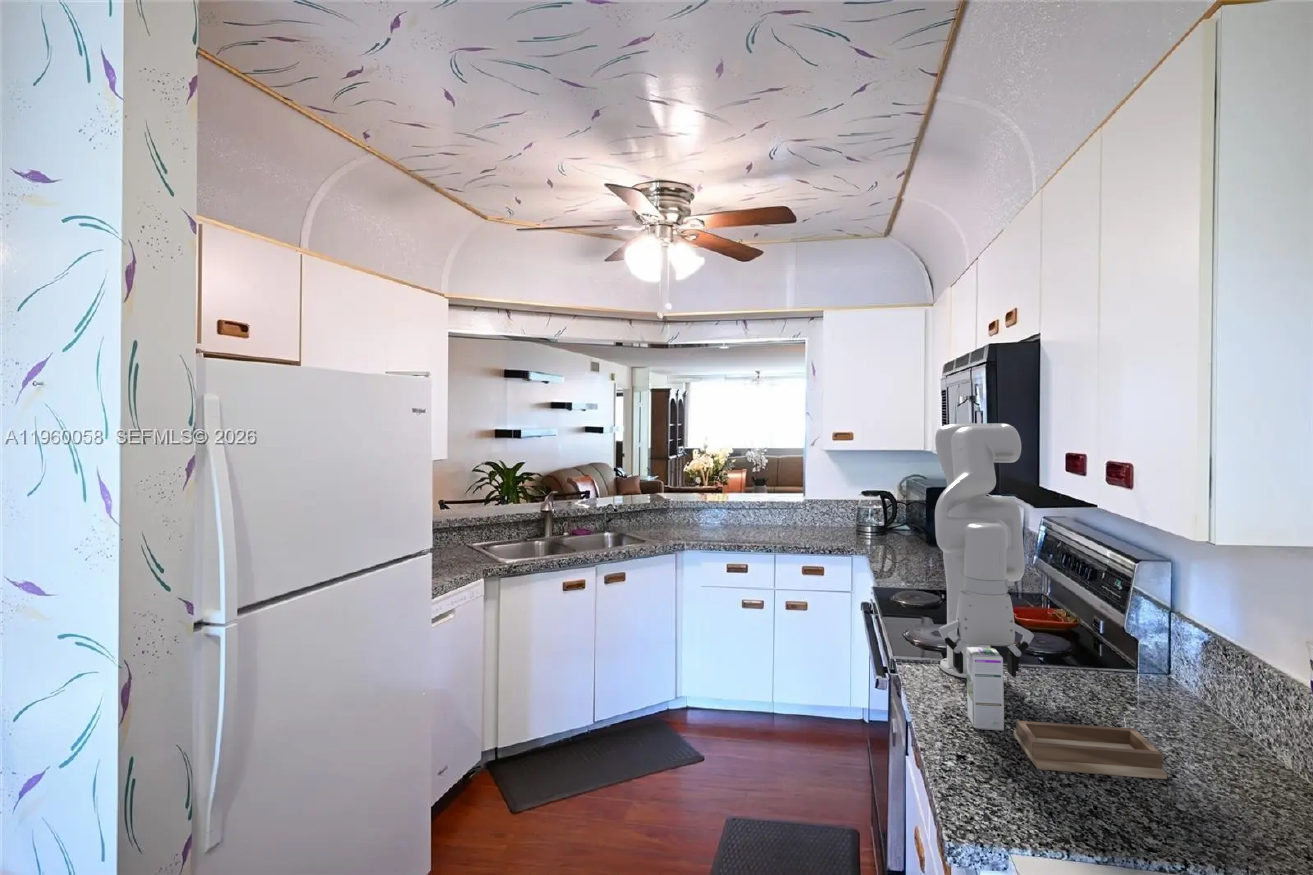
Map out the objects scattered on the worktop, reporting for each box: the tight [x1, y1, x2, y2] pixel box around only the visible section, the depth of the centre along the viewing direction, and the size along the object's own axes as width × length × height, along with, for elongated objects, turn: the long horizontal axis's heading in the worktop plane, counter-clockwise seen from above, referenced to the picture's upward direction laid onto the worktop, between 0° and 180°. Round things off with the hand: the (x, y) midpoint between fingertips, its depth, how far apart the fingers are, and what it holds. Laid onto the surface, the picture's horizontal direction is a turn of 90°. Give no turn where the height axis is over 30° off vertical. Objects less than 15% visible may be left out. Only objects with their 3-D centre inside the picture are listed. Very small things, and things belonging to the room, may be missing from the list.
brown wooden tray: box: [1013, 720, 1168, 780], centre depth 125 cm, size 13×20×4 cm, turn 79°
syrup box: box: [966, 647, 1005, 731], centre depth 138 cm, size 6×6×14 cm
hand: (985, 673), depth 137 cm, fingers open, 9 cm apart
